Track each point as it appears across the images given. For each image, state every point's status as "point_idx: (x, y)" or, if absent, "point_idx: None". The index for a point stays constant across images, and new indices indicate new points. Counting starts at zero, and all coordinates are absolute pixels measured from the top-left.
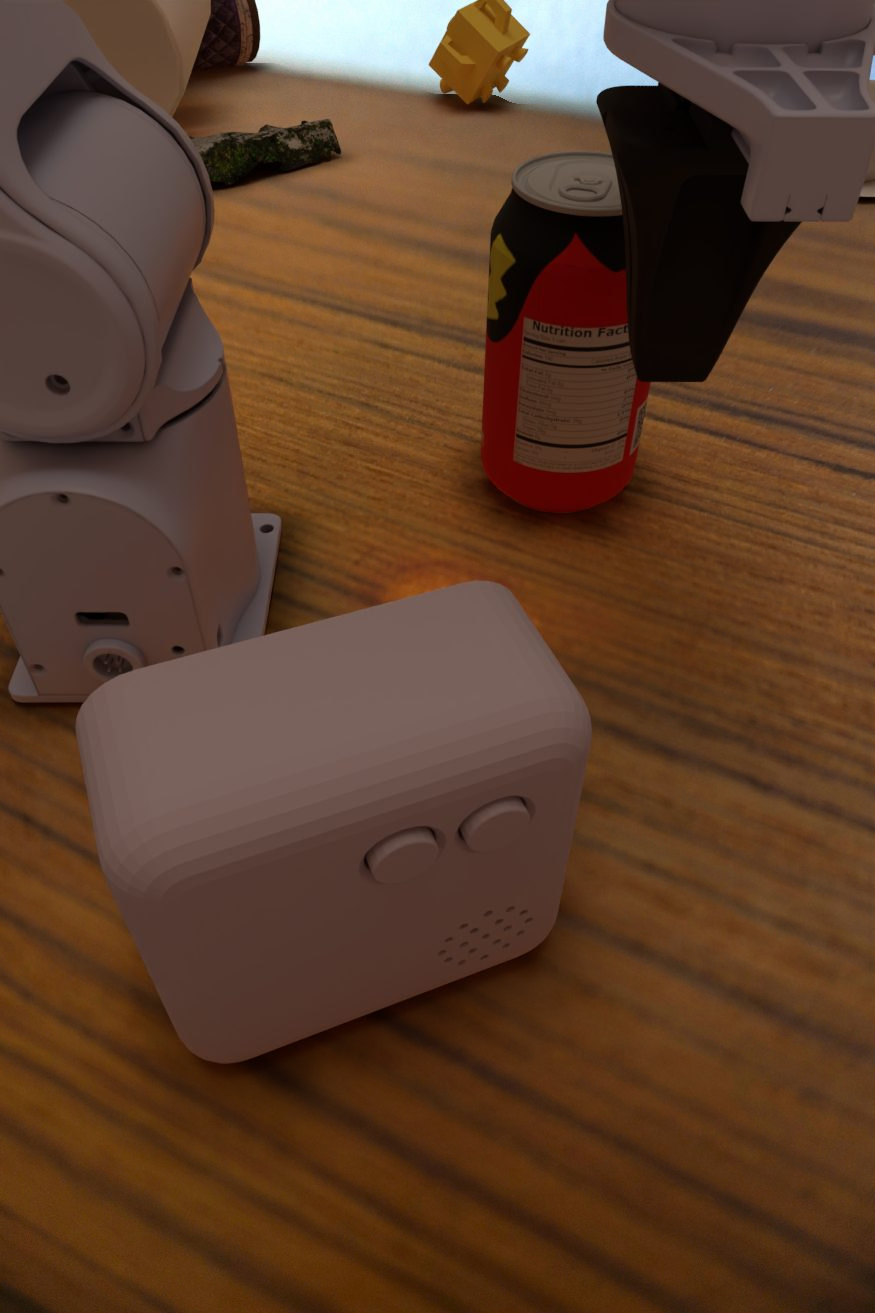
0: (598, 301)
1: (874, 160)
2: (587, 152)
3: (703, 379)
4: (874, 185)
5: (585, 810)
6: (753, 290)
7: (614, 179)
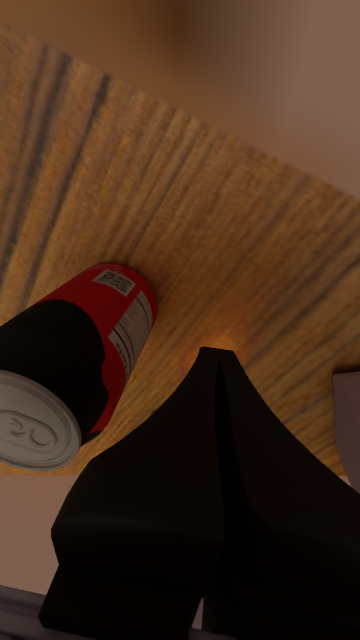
0: (119, 386)
1: None
2: None
3: (235, 354)
4: None
5: (338, 336)
6: (260, 397)
7: (1, 405)
